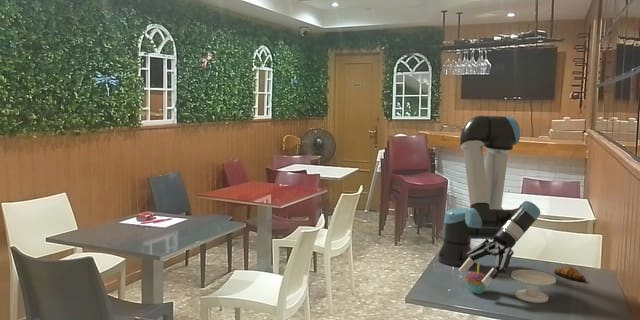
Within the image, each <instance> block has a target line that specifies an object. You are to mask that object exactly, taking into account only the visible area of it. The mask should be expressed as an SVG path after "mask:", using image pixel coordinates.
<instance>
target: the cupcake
mask: <svg viewBox="0 0 640 320" xmlns="http://www.w3.org/2000/svg"><path fill="white" fill-rule="evenodd" d="M476 269H477V270H476V271H471V272H469V273H467V274H465V278H464V281H465V282H467V284H468V287H469V288H468V289H469V291H470V293H474V294H479V295H480V294H483V293H484V292H485V289H486V288H487V286H485V285H484V284H483V282H482V280H483V279H484V277H485V276H486V275H487V274H484V273H482V272H480V261H478V262H477V265H476Z"/></svg>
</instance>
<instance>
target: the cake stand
mask: <svg viewBox="0 0 640 320" xmlns="http://www.w3.org/2000/svg"><path fill="white" fill-rule="evenodd" d="M511 278H512V279H513V280H516V281H517V282H520V283H525V284H526V288H525V289H518V290H517V291H515V297H516V298H517V299H519V300H522V301H525V302H529V303H535V304H537V303H538V304H540V303H541V304H542V303H547V302H549V295H548V294H545V293H544V292H540V291H539V288H540V287H539V286H552V285H555V284H556V283H557V278H556V277H555V276H554V275H553V274H549V273H547V272H543V271H540V270H533V269H532V270H531V269H515V270H513V271H511Z"/></svg>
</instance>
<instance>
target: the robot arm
mask: <svg viewBox="0 0 640 320" xmlns="http://www.w3.org/2000/svg"><path fill="white" fill-rule="evenodd" d="M459 137H460V139H459V146H460V149H461V150H462V151H463V158H464V166H465V175H466V182H467V190H468V198H469V199H468V200H469V205H470V207H469V208H467V207H466V208H465V207H457V208H456V207H455V208H451V209H449V210H446V212H445V213H444V215H445V216H444V220H443V223H444V226H443V227H444V228H443V242H442V245H441V248H440V250H439V252H438V255H437V261H438V262H439V263H442V264H444V265H448V266H454V267H459V268H458V272H459V273H460V274H461V275H463V276H464V275H466V273H467V272H468V270H469V269H470V268H471V267H472V266H473V265H474V264H475V261H476V260H479V259H481V258H484V257H486V256H490V255H491V256H493V257H495V265H494V267H492V268H491V269H490V270H489V271H488V273H486V274H485V275H486V276H485V277H484V279H483V280H482V282H483V284H484V285H485V286H486V287H488V286H489V285H490V284H491V282H492V281H494V280H495V279H496V277H497V276H498V275H499V274H501V273H503V274H506V273H507V271H508V268H509V265H510V261H511V259H512V257H513V255H514V253H515V251H514V250H513V248H514V246H515V245H516V244H517V242H519V240H520V239H521V238H522V236H523V235H525V233H526V232H527V231H528V229H530V228H531V226H532V225H533V224H534V223H535V222H536V221H537V220H538V218H539V216H540V215H541V210H540V208H539V207H538V206H537V205H536V204H535V203H533V202H532V201H529V200H525V201H523V202H522V203H521V204H520V205H519V206H518V207H516V208H513V209H504V208H503V207H502V204H503V198H504V197H503V196H504V189H505V182H506V181H505V180H506V175H507V174H506V173H507V166H508V159H509V158H508V157H509V153H510V152H512V151H513V150H514V149H513V148H514V146H516V145H517V144H518V143H519V141H520V139H521V128H520V125H519V122H518V121H517V119H516V118H515V117H510V116H501V115H500V116H499V115H495V116H494V115H477V116H474V117H472V118H471V119H469V120H468V121H467V122H466V123H465V125H464V126H463V128H462V130H461V133H460V135H459ZM483 148H484V149H485V150H486V158H485V157H484V151H483ZM485 159H486V160H485ZM471 240H484V241H483V242H482V243H480V244H478V245H477V246H475V247H474V248H473V249H472V247H471V242H472V241H471ZM491 240H492V241H491Z"/></svg>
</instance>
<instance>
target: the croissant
mask: <svg viewBox="0 0 640 320" xmlns="http://www.w3.org/2000/svg"><path fill="white" fill-rule="evenodd" d="M553 273H554V274H555V275H556V276H560V277H562V278H565V279H567V280H568V279H569V280H572V281H576V282H582V283H585V282H586V281H587V280H586V278H587V277H585V276H584V275H583V274H582V273H581V272H580V271H579V270H578V269H576V268H574V267H572V266H565V267H559V268H556V269H554V271H553Z"/></svg>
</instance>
